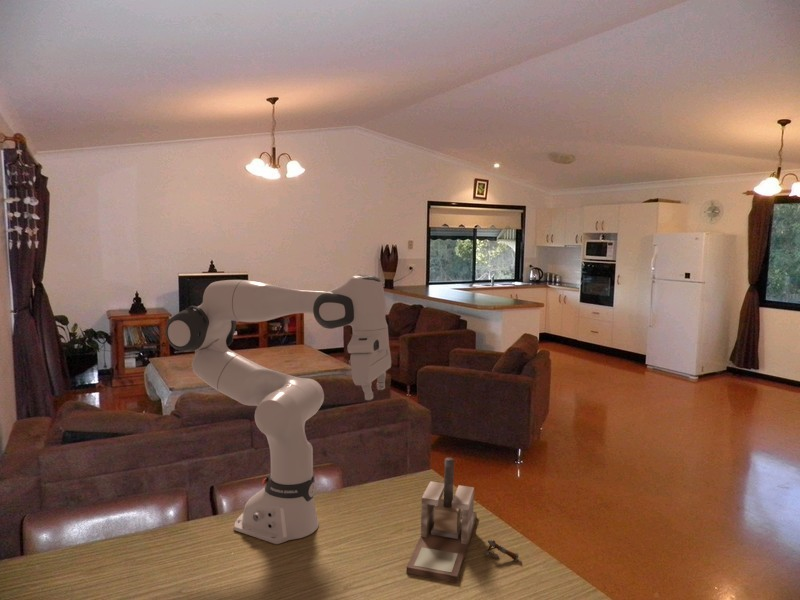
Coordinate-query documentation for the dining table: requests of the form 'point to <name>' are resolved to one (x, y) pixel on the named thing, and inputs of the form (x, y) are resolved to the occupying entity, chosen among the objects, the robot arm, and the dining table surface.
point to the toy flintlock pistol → (501, 549)
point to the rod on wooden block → (447, 508)
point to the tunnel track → (441, 552)
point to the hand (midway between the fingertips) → (375, 394)
